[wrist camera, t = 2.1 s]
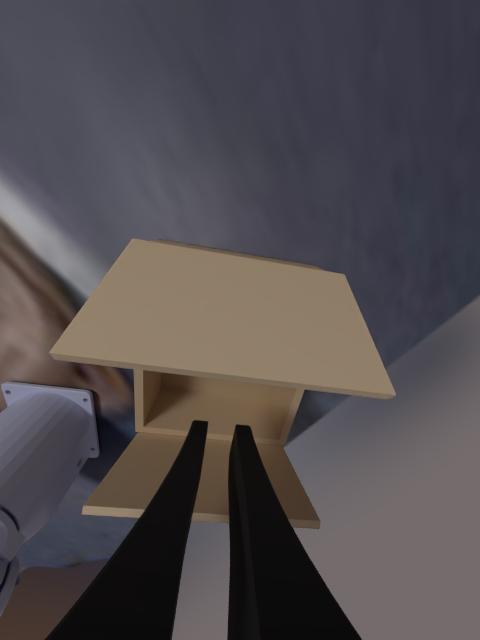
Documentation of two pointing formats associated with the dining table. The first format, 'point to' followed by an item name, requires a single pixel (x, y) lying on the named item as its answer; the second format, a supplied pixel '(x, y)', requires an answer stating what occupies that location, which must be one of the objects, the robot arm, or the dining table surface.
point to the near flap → (226, 322)
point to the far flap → (212, 496)
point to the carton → (214, 396)
